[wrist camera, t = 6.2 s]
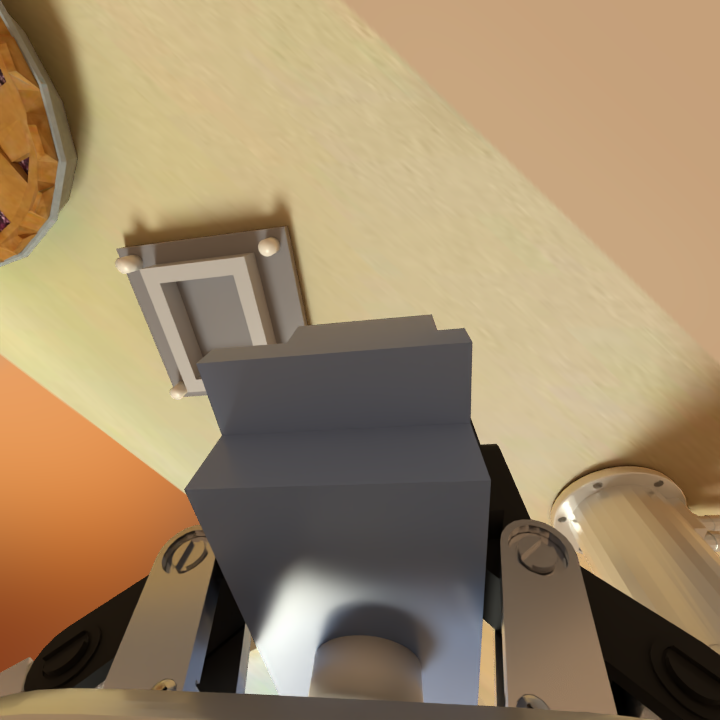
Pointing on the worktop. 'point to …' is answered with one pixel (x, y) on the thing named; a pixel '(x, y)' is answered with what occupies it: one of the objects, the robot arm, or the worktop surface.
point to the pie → (29, 146)
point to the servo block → (351, 508)
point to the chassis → (214, 296)
